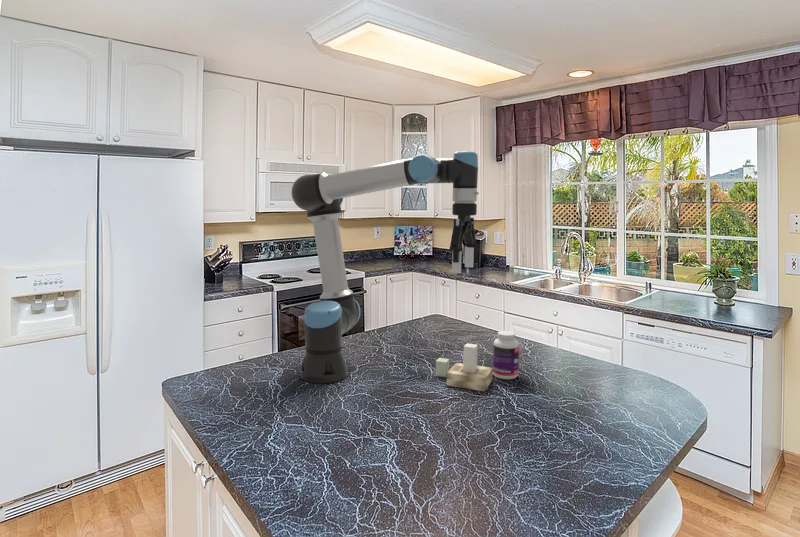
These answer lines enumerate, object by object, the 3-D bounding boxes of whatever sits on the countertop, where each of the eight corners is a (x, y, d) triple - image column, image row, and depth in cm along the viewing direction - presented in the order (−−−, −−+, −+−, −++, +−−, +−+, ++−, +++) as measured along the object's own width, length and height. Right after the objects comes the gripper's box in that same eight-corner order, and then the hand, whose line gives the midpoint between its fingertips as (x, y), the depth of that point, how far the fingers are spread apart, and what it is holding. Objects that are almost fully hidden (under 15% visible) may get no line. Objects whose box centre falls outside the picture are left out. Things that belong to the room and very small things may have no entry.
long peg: (462, 383, 149) (463, 346, 148) (465, 379, 153) (466, 343, 151) (473, 385, 148) (474, 347, 146) (476, 381, 151) (477, 344, 149)
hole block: (446, 385, 148) (446, 372, 148) (456, 374, 157) (456, 362, 157) (484, 391, 143) (485, 378, 143) (492, 379, 153) (492, 367, 152)
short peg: (435, 375, 156) (435, 360, 155) (439, 372, 159) (439, 357, 159) (445, 377, 155) (446, 362, 154) (449, 373, 158) (449, 359, 157)
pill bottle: (518, 381, 151) (520, 337, 149) (492, 379, 153) (493, 335, 151) (517, 372, 159) (519, 330, 157) (492, 370, 161) (493, 328, 158)
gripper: (464, 203, 137) (462, 276, 140) (486, 202, 160) (484, 265, 163) (439, 202, 140) (438, 274, 143) (464, 202, 163) (463, 264, 166)
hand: (462, 269), depth 153 cm, fingers open, 13 cm apart
